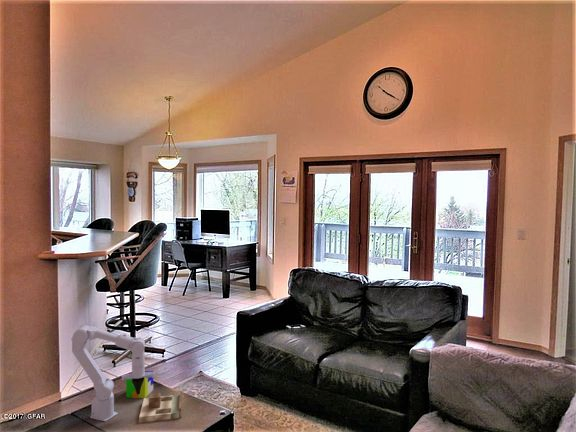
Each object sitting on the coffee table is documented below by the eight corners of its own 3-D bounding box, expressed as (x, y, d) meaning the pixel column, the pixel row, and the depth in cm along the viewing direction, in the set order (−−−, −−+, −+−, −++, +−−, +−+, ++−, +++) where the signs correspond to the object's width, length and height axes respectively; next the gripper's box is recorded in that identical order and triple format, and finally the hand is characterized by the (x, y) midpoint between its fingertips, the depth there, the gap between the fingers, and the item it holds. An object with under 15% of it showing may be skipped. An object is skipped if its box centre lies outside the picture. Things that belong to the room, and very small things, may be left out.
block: (148, 408, 190) (148, 398, 190) (149, 404, 195) (149, 393, 195) (159, 407, 192) (159, 397, 192) (160, 402, 196) (160, 392, 196)
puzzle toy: (153, 389, 217) (153, 371, 217) (144, 398, 207) (144, 378, 207) (135, 388, 218) (135, 370, 218) (126, 397, 208) (126, 378, 208)
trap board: (139, 422, 183) (139, 412, 183) (144, 403, 201) (144, 394, 201) (181, 417, 187) (181, 408, 187) (182, 399, 206) (182, 390, 206)
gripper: (155, 360, 197) (155, 388, 197) (123, 363, 194) (123, 391, 194) (153, 366, 190) (153, 394, 190) (120, 368, 187) (121, 398, 187)
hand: (138, 393), depth 192 cm, fingers closed
